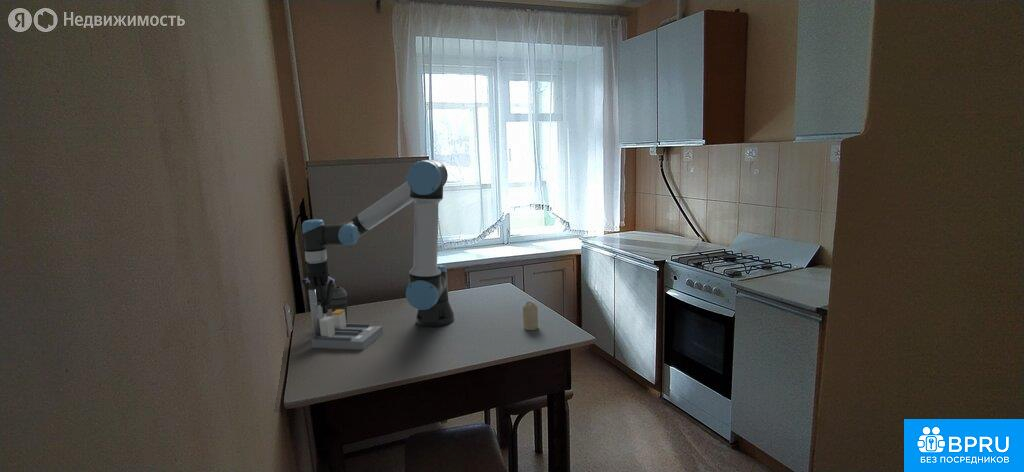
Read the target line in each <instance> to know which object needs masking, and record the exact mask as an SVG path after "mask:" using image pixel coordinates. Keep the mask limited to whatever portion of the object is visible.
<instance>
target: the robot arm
mask: <svg viewBox="0 0 1024 472" xmlns="http://www.w3.org/2000/svg"><path fill="white" fill-rule="evenodd" d="M447 181H448V170H447V168H446V166H445V165H444V164H443V163H442V162H441V161H438V160H436V159H421V160H418V161H416V162H415V163H413V164H412V165H411V167H410V168H409V170H408V172H407V173H406V181H405V182H404V183H403V184H401V185H399V186H398V187H396V188H395V189H393V190H392V191H390V192H389V193H388V194H386V195H385V196H383V197H382V198H380V199H379V200H377V201H376V202H374V203H373V204H371V205H370V206H368V207H367V208H365V209H364V210H362V211H361V212H359V213H358V214H357V215H355V216H354V217H352V218H351V219H349V220H346V221H345V222H344V221H343V222H342V223H339V224H325V222H324V220H323V219H319V218H314V219H307V220H304V221H303V222H302V224H301V227H302V229H301V230H302V231H301V232H302V233H301V234H302V238H303V239H302V240H303V246H304V257H305V258H304V259H305V262H306V264H305V266H306V272H307V277H306V278H303V279H302V280H301V282H302V284H303V285H304V287H305V290H306V293H307V296H308V297H309V292H308V290H310V289H316V297H317V305H318V314H319V320H320V319H322V318H324V317H325V316H327V313H329V309H328V305H329V304H330V303H331V302H332V296H333V288H335V286H334V284H336V281H337V279H336V278H334V279H333V277H331V275H330V273H329V261H328V260H327V259H328V253H327V246H350V245H355V244H357V243H358V240H359V238H361V237H363V236H364V235H365V234H366V233H367V232H369V231H370V230H372V229H373V228H374V227H377V226H379V224H380V223H383V222H384V221H385V220H387V219H389V218H390V217H392V216H393V215H394V214H395V213H397V212H399V211H400V210H402V209H403V208H404V207H406V206H408V205H409V204H411V203H414V204H413V205H414V206H413V209H414V210H413V213H414V214H413V264H412V265H413V266H412V268H411V269H409V271H408V272H409V273H408V274H409V275H408V285H407V288H406V291H405V298H406V301H407V302H408V304H409V305H410V306H412V308H414V309H415V310H417V312H416V318H415V319H416V320H415V321H416V324H417V325H418V326H421V327H426V328H434V327H442V326H446V325H449V324H451V323H452V322H454V321H455V314H454V311H453V308H452V306H451V303H450V301H449V300H450V299H449V288H448V287H449V286H448V271H447V267H446V266H445V265H444V264H438V241H439V240H438V237H439V203H441V201H442V200H443V199H444V186H445V185H446V184H447Z"/></svg>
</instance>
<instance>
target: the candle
mask: <svg viewBox="0 0 1024 472" xmlns="http://www.w3.org/2000/svg"><path fill="white" fill-rule="evenodd" d="M522 316H523V317H522V318H523V319H522V320H523V322H522V323H523V329H524V330H526V331H535V330H538V328H539V313H538V305H537V304H536V303H534V302H530V301H526V302H524V304H523V305H522Z"/></svg>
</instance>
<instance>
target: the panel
mask: <svg viewBox="0 0 1024 472" xmlns="http://www.w3.org/2000/svg"><path fill="white" fill-rule="evenodd" d="M334 329H335V335H333V336H332V337H330V336H318V337H317V339H314V338H312V339H311V345H312V346H311V347H312V349H336V350H357V351H358V350H363V351H364V350H366V348H368V347H369V346H370V345H371V344H372V343H374V342H375V341H376V340H377V339H378V338H380V337H381V336H382V335H383V334H384V330H383V329H384V328H383V326H382V325H370V323H353V322H352V323H351V322H347V323H346V327H345V328H334ZM379 336H380V337H379Z"/></svg>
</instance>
